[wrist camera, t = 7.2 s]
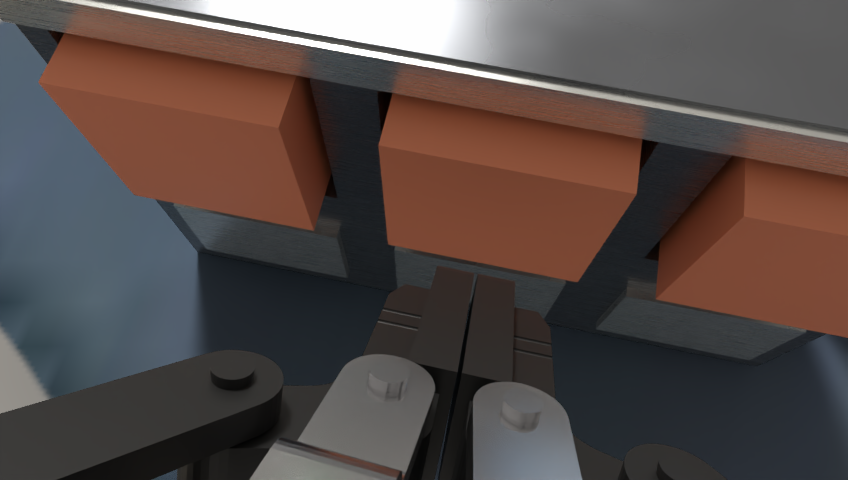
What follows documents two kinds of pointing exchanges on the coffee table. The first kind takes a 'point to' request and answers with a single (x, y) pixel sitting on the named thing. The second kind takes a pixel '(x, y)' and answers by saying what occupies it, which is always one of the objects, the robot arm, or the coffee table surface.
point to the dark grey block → (526, 97)
